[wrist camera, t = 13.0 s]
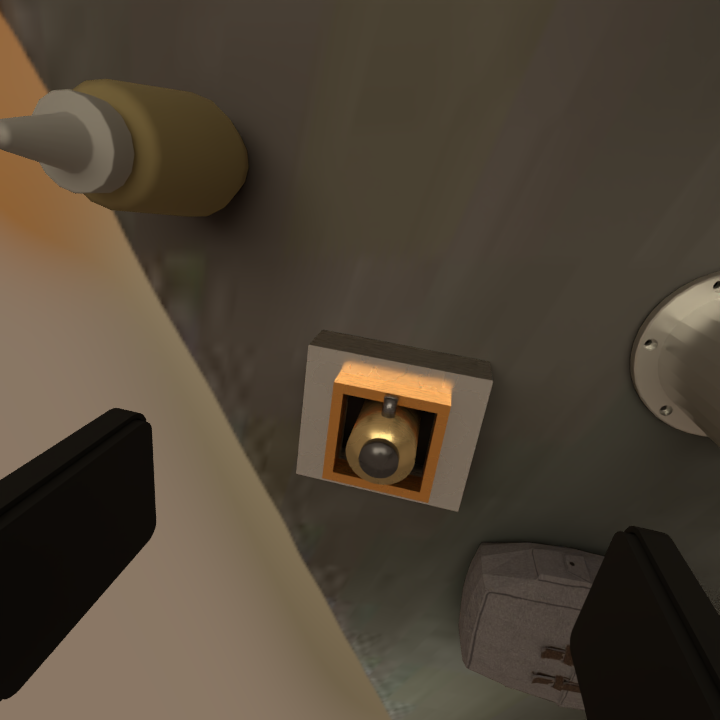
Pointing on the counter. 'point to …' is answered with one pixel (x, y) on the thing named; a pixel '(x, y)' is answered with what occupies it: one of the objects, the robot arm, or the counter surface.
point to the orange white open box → (414, 390)
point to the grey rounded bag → (526, 616)
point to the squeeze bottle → (133, 147)
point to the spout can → (384, 441)
